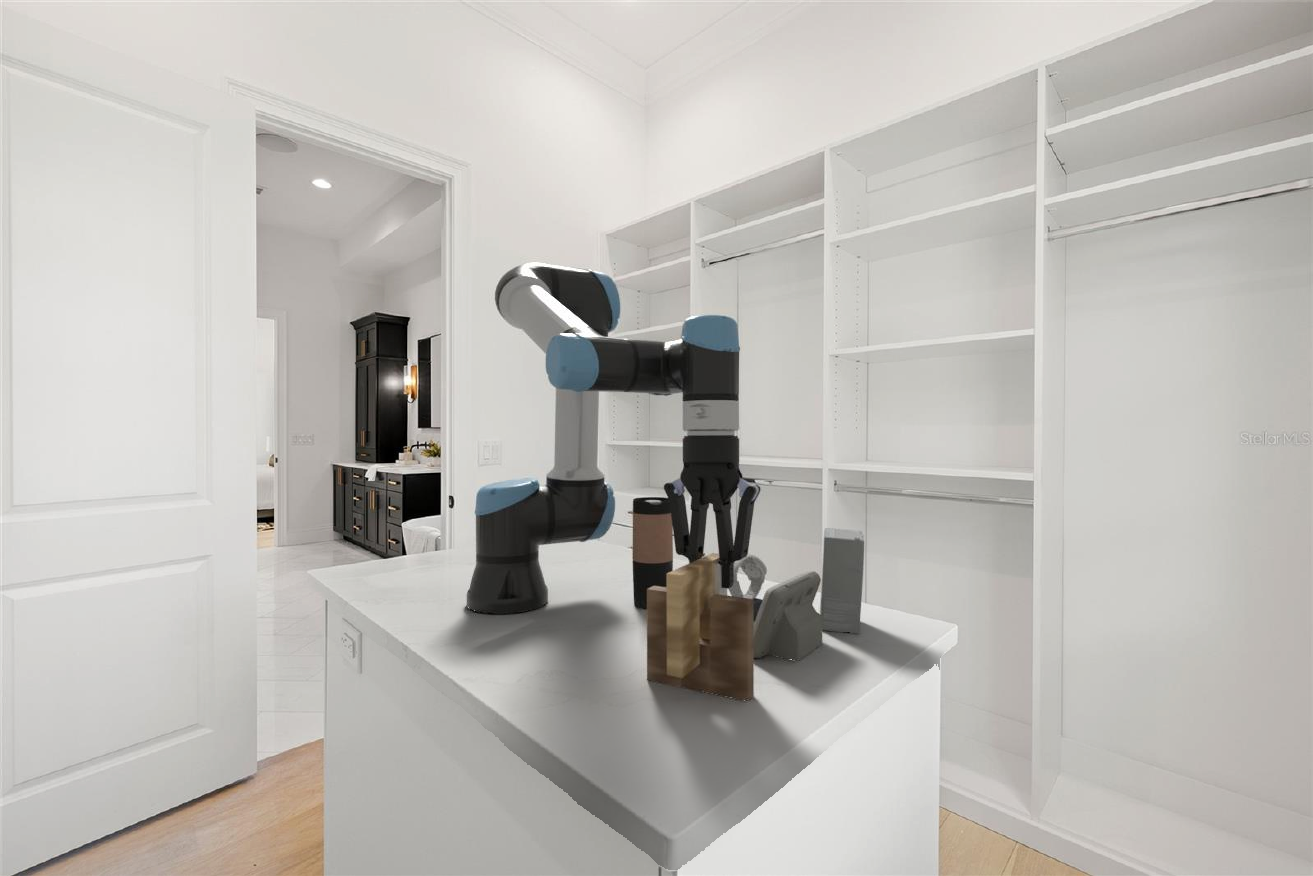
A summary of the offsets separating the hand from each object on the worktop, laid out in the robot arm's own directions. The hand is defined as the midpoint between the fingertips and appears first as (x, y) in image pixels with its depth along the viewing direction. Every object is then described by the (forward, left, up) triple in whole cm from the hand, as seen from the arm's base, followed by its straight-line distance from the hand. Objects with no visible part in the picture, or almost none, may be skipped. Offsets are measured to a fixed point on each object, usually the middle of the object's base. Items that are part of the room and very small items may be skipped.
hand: (711, 610), depth 81 cm
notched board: (0, -4, -5) cm, 6 cm away
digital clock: (+5, +16, -9) cm, 19 cm away
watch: (-5, +27, -9) cm, 29 cm away
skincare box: (+11, +30, -9) cm, 33 cm away
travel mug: (-23, +26, -9) cm, 36 cm away
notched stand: (0, -4, -9) cm, 10 cm away
